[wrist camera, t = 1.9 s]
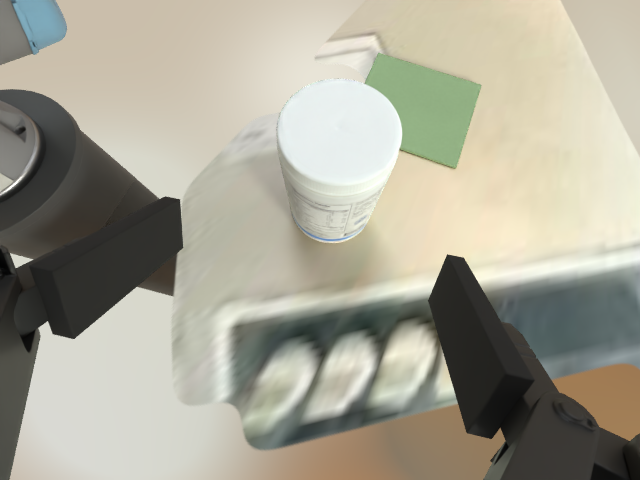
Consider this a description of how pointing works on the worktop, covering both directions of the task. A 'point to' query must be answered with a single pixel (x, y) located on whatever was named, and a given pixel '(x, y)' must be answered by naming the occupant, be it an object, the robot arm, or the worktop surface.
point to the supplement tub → (336, 155)
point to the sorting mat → (426, 107)
